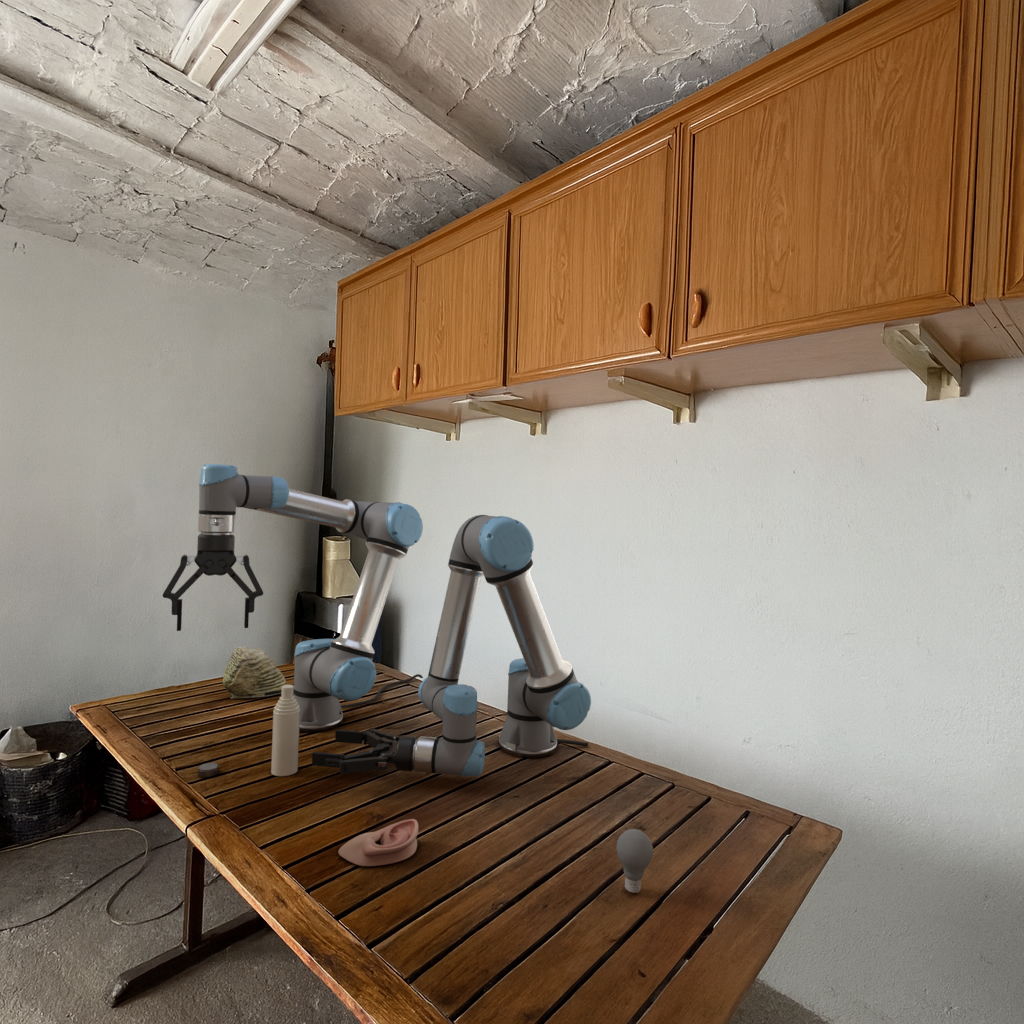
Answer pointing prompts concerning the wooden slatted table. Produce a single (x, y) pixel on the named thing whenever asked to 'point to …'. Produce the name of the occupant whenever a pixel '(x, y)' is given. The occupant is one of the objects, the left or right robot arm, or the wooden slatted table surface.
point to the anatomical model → (382, 845)
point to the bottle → (285, 734)
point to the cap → (208, 770)
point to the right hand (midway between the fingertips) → (324, 746)
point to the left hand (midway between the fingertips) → (213, 628)
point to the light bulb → (634, 857)
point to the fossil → (252, 674)
